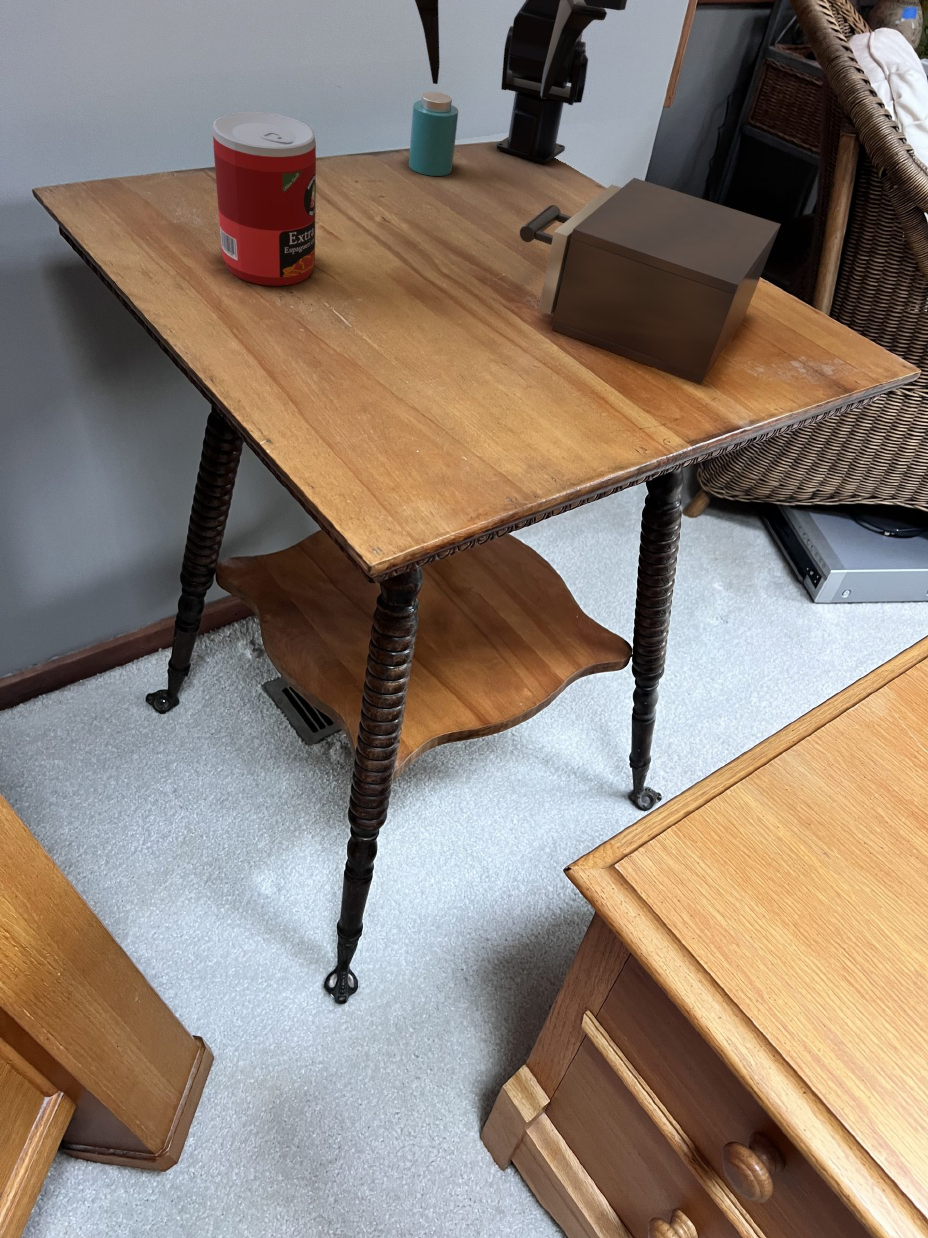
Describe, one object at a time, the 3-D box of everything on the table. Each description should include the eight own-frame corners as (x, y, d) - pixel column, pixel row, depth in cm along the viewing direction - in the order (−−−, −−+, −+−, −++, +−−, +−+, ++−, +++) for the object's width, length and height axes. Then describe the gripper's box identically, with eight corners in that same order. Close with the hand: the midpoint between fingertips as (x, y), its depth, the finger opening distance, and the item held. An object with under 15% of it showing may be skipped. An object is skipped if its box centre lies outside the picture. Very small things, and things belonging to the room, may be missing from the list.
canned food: (298, 295, 72) (297, 154, 64) (207, 274, 73) (194, 132, 65) (327, 257, 78) (329, 123, 70) (241, 239, 78) (233, 103, 70)
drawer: (493, 294, 75) (506, 214, 70) (553, 243, 84) (568, 169, 79) (674, 360, 71) (701, 281, 66) (717, 300, 80) (744, 226, 75)
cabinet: (550, 329, 74) (573, 228, 68) (609, 270, 83) (633, 176, 77) (701, 385, 71) (738, 284, 64) (744, 317, 80) (781, 223, 74)
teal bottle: (421, 155, 98) (428, 85, 93) (459, 167, 96) (467, 97, 91) (400, 166, 94) (405, 95, 89) (439, 179, 93) (446, 108, 88)
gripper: (388, -167, 55) (375, 106, 66) (671, -119, 57) (612, 137, 68) (391, -184, 62) (379, 63, 74) (641, -141, 65) (592, 92, 76)
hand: (489, 89), depth 73 cm, fingers open, 9 cm apart
